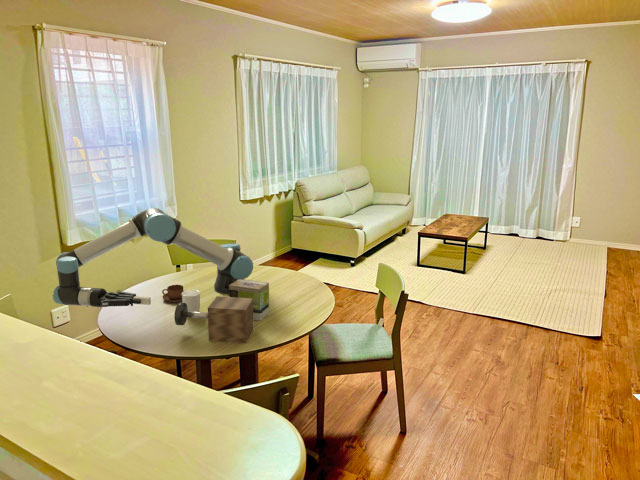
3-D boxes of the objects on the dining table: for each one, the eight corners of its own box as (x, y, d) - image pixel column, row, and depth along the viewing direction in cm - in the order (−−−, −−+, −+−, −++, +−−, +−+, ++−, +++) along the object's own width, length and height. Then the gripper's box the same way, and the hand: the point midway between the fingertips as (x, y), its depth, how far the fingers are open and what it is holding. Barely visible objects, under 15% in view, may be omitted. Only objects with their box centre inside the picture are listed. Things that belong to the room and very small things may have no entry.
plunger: (175, 328, 189) (173, 307, 187) (183, 319, 198) (182, 299, 195) (214, 331, 188) (214, 310, 185) (221, 321, 196) (220, 301, 194)
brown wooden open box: (208, 340, 187) (207, 307, 184) (217, 327, 199) (216, 296, 195) (246, 343, 186) (245, 310, 182) (253, 330, 198) (252, 298, 194)
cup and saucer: (164, 305, 220) (163, 293, 219) (161, 296, 231) (160, 284, 229) (190, 302, 225) (190, 290, 224) (186, 293, 236) (186, 281, 234)
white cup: (196, 318, 207) (195, 297, 205) (179, 316, 209) (178, 295, 206) (204, 311, 215) (203, 290, 212) (187, 309, 216) (186, 289, 214)
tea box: (269, 313, 215) (269, 282, 211) (259, 321, 206) (259, 289, 202) (240, 308, 220) (239, 277, 216) (229, 316, 210) (228, 284, 207)
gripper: (102, 300, 201) (157, 303, 199) (85, 312, 188) (143, 316, 186) (101, 283, 199) (156, 286, 197) (83, 294, 186) (142, 298, 184)
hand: (149, 301), depth 192 cm, fingers closed
